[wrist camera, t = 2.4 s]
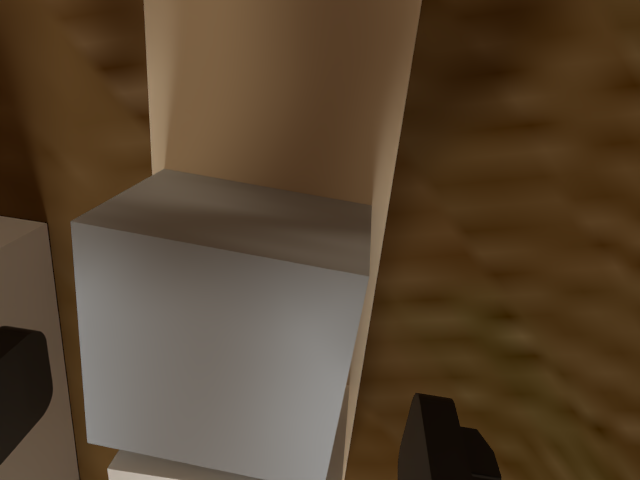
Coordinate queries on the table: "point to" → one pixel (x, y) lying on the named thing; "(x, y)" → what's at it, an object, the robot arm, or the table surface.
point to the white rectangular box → (42, 315)
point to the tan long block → (285, 103)
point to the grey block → (220, 322)
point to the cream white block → (171, 476)
